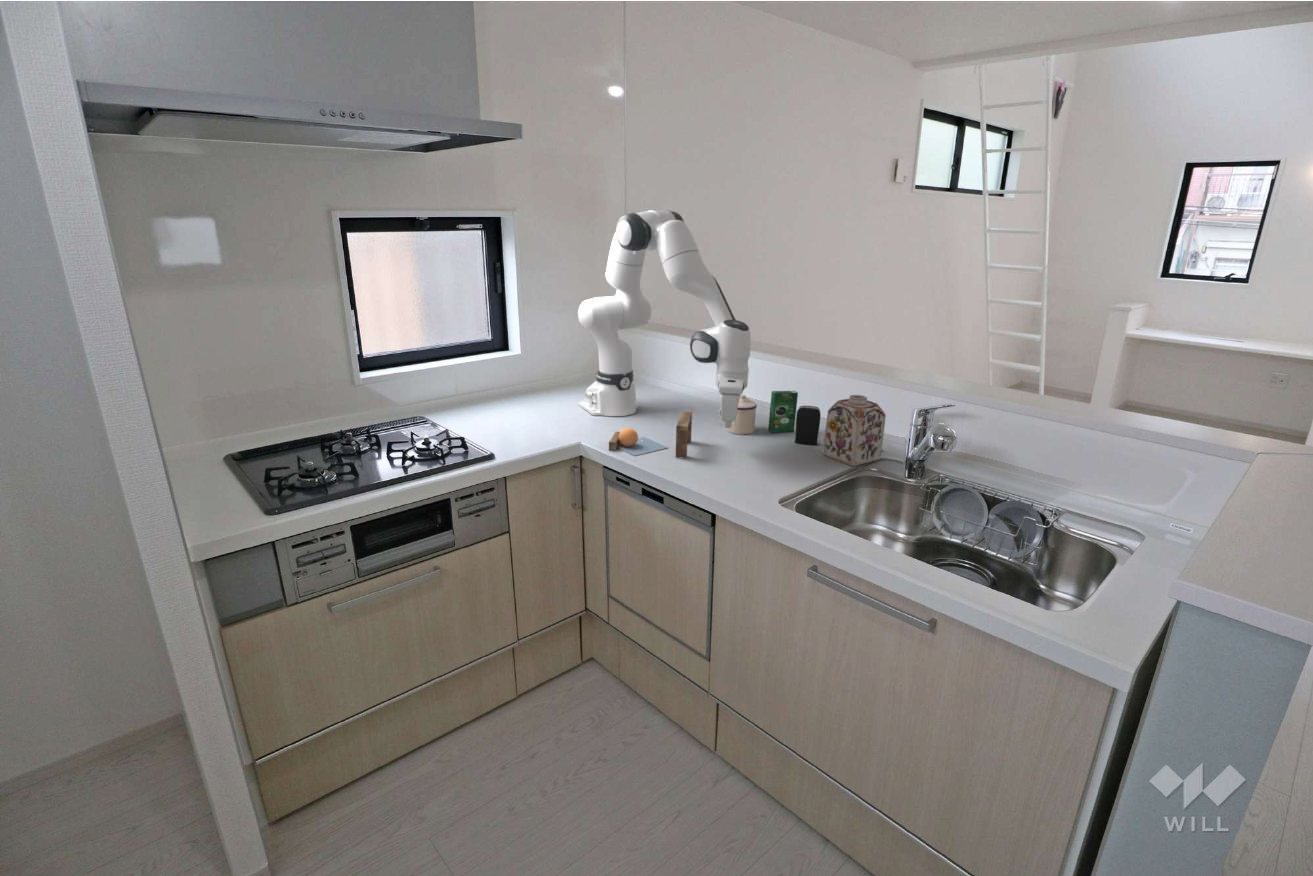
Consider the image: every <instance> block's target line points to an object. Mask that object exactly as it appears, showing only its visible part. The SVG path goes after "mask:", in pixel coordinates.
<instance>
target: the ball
mask: <svg viewBox="0 0 1313 876" xmlns="http://www.w3.org/2000/svg"><path fill="white" fill-rule="evenodd" d="M619 432H620V433H619V441H620V443H621V444H622V445H623V446H626V447H631V446H633V445H634V444H635V443H636V442H637V440H638V438H639V435H638V433H637V431H636V430H635V429H634V428H632V427H624V428H623V429H621V430H620V431H619Z"/></svg>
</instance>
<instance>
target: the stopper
mask: <svg viewBox="0 0 1313 876" xmlns="http://www.w3.org/2000/svg"><path fill="white" fill-rule="evenodd" d="M620 432H621V431H615V432H614V434H613V435H612V437H611V438H610V440H609V441H608V451H611V450H612V451H613V452H616V451H617V449H618V448H617V447H618V446H619V444H620V441H619V433H620ZM612 451H611V452H612Z"/></svg>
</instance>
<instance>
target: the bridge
mask: <svg viewBox="0 0 1313 876" xmlns="http://www.w3.org/2000/svg"><path fill="white" fill-rule="evenodd" d="M692 421H693V411H684V410H682V411H681V413H680V415H679V418H678V420H677V424H676V425H675V427H676V429H675V432H676V433H675V458H676V457H683V458H682V459H686V458H687V456H688V443H692V425H693V424H692Z"/></svg>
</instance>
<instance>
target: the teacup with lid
mask: <svg viewBox="0 0 1313 876" xmlns="http://www.w3.org/2000/svg"><path fill="white" fill-rule="evenodd" d="M757 407H758V405H757V403H756V402H755V401H754V400H750V398H748V397H747V396H746V395H745V394H741V396H740V399H739V404H738V409H737V414H736V418H735V421H733V422H732V426H731V428H726V430H727V431H728V432H729V433H730V432H731V433H730V434H733V435H739V434H742V435H743V434H747V435H751V434H753V433H754V432H755V427H756V426H755V425H756V410H757ZM718 415H719V418H720V419H721V420H722V417H721V407H720V408H719V410H718ZM742 435H741V436H742ZM743 436H744V435H743Z"/></svg>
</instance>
